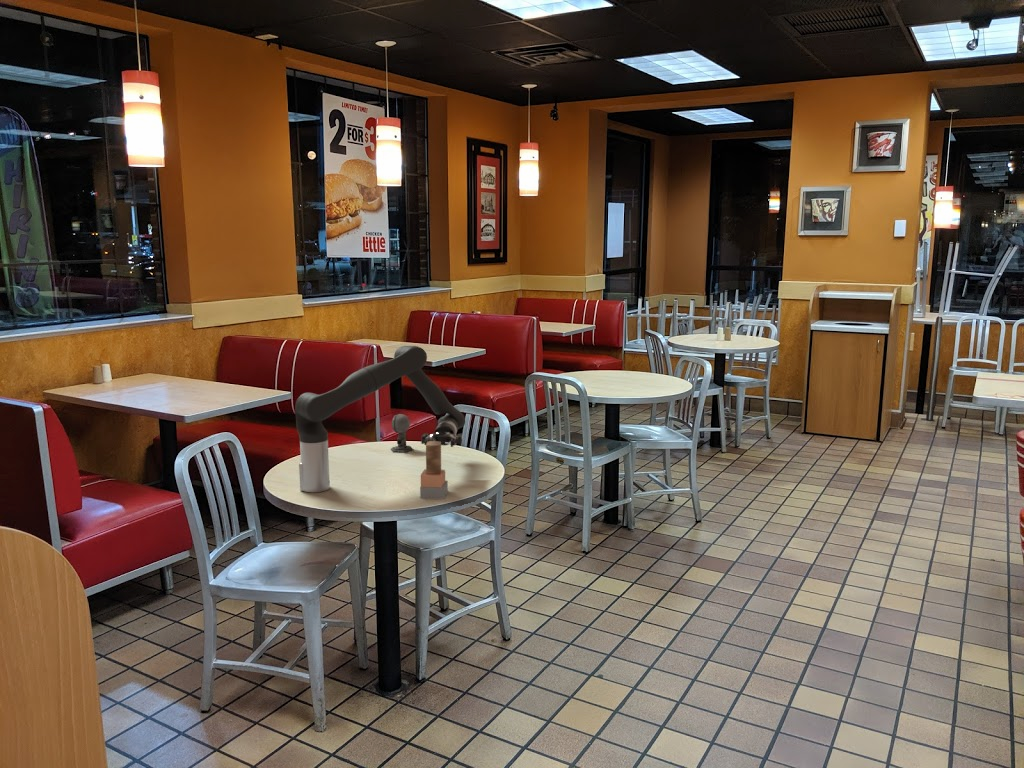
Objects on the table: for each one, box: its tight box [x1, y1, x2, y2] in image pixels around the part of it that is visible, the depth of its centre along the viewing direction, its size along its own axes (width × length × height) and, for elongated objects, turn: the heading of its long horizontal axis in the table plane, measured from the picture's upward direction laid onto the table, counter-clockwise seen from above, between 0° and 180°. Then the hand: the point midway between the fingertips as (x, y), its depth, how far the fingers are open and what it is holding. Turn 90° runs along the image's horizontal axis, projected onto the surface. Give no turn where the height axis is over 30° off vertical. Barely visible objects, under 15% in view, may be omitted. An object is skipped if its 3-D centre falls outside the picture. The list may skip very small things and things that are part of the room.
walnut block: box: [425, 441, 442, 474], centre depth 256 cm, size 5×5×10 cm
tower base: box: [419, 479, 449, 500], centre depth 259 cm, size 8×8×4 cm
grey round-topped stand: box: [390, 413, 415, 454], centre depth 314 cm, size 9×10×15 cm
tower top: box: [420, 468, 446, 487], centre depth 258 cm, size 7×7×4 cm
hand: (439, 443), depth 266 cm, fingers open, 8 cm apart
